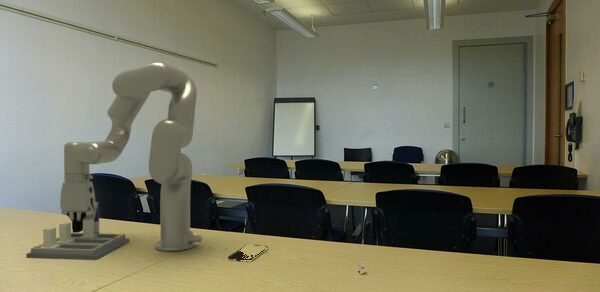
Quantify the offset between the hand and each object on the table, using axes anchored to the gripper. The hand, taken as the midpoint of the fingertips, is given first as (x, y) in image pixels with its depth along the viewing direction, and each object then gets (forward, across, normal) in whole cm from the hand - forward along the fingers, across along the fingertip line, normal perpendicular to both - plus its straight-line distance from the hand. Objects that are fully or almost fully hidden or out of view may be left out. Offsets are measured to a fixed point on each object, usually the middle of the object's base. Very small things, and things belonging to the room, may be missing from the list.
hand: (77, 231), depth 138 cm
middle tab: (+3, 0, +6) cm, 7 cm away
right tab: (+3, -4, 0) cm, 5 cm away
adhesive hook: (+5, -96, +20) cm, 98 cm away
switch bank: (+4, -5, +6) cm, 9 cm away
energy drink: (+4, +2, -10) cm, 11 cm away
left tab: (+3, +1, +13) cm, 13 cm away
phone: (+5, -60, +6) cm, 61 cm away
